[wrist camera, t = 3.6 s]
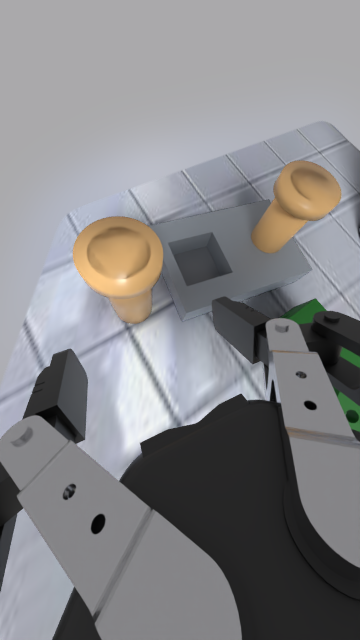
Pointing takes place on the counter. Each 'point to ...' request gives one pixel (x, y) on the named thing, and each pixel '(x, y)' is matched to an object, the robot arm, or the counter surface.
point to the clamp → (303, 314)
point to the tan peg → (120, 264)
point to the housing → (244, 242)
